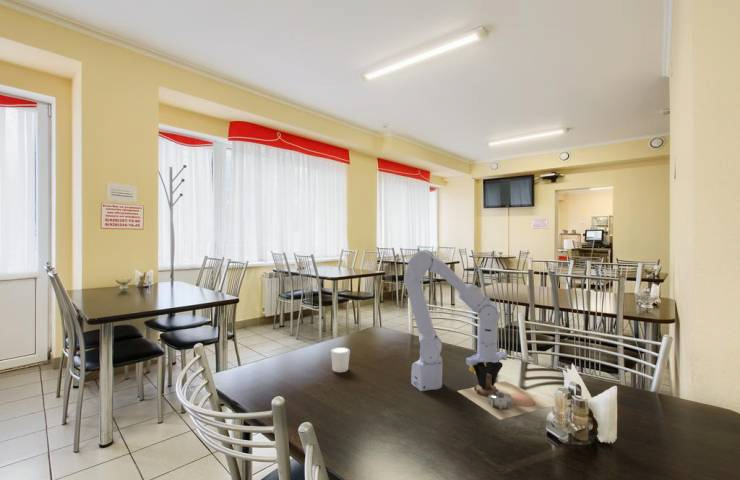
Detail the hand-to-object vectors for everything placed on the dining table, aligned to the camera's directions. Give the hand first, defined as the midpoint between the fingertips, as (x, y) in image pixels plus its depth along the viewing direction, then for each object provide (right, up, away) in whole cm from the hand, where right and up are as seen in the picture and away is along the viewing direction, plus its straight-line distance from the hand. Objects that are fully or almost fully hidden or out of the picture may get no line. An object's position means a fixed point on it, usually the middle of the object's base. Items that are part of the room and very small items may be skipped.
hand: (486, 385), depth 108 cm
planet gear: (0, -2, 0) cm, 2 cm away
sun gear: (+1, -2, -8) cm, 8 cm away
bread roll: (+4, -3, +16) cm, 17 cm away
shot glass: (-47, -2, +19) cm, 50 cm away
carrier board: (+4, -3, -4) cm, 6 cm away
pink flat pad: (+8, -2, -5) cm, 10 cm away
